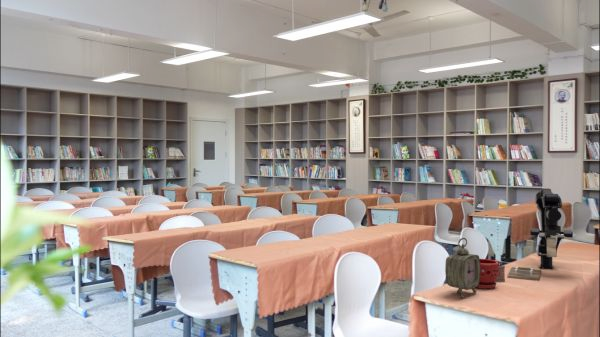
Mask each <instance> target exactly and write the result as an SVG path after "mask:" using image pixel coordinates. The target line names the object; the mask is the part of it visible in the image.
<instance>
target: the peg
mask: <svg viewBox="0 0 600 337" xmlns="http://www.w3.org/2000/svg"><path fill="white" fill-rule="evenodd" d="M556 244H557V237H551V238H550V237H547V257H552V258H556Z"/></svg>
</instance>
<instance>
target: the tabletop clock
mask: <svg viewBox="0 0 600 337" xmlns="http://www.w3.org/2000/svg"><path fill="white" fill-rule="evenodd" d="M463 240H465V244H464V243H462V244H461V245H460V243H461V241H463ZM457 245H458V247H459V248H458V249H457V251H456V253H454V254H451V255H449V256H447V257H446V258H445V266H444V267H445V269H444V271H445V283H446V285H447V286H448V287H452V288H456V289H457V290H456V294H459V298H460V299H463V298H464V294H463V290H466V291H468V290H472V293H473V294H476V293H477V289H475V288H477V287H476V286H478V285H479V282H480V259H481V258H480V256H479V255H477V254H472V253H470V252H469V250H468V249H467V248H465V247H466V246H467V245H468V240H467V238H465V237H461V238H460V239H459V240H458V242H457Z"/></svg>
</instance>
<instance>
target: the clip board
mask: <svg viewBox="0 0 600 337" xmlns="http://www.w3.org/2000/svg"><path fill="white" fill-rule="evenodd" d="M541 273H542V269H535V268H533V267H523V266H516V267H514V266H512V267H511V268H510V270H509V272H508V273H507V278H509V279H518V280H527V281H529V280H530V281H537V282H538V281H540V278H541Z"/></svg>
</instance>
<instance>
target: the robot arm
mask: <svg viewBox="0 0 600 337" xmlns="http://www.w3.org/2000/svg"><path fill="white" fill-rule="evenodd" d="M534 200H535V204H536V208H537V210H538V211H539V212H540V226H541V227H540V228H531V229H530V231H529V232H530V234H529V235H530V236H538V237H539V238H541V239H540V240H539V243H538V245H537V249H536V255H537V256H538V257H540V264H539V269H548V270H554V265H553V257H547V237H550V238H552V236H553V237H556V236H557V237H556V257H558V256H557V252H558V248H559V245H560V242H561V241H562V240H563V239H565V238H574V234H573V233H574V231H573V230H571V229H570V230H569V229H563V231H562V229H561V228H562V227H561V225H559V223H558V222H559V221H560V220H561V218H562V213H561V212H560V211H559V209H562V207H563V202H562V198H561V196H560V195H559V194H558V193H553V191H552V189H551V188H540V190H539V191H538V192H537V193H536V194H535V199H534ZM556 257H555V258H556Z"/></svg>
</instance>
